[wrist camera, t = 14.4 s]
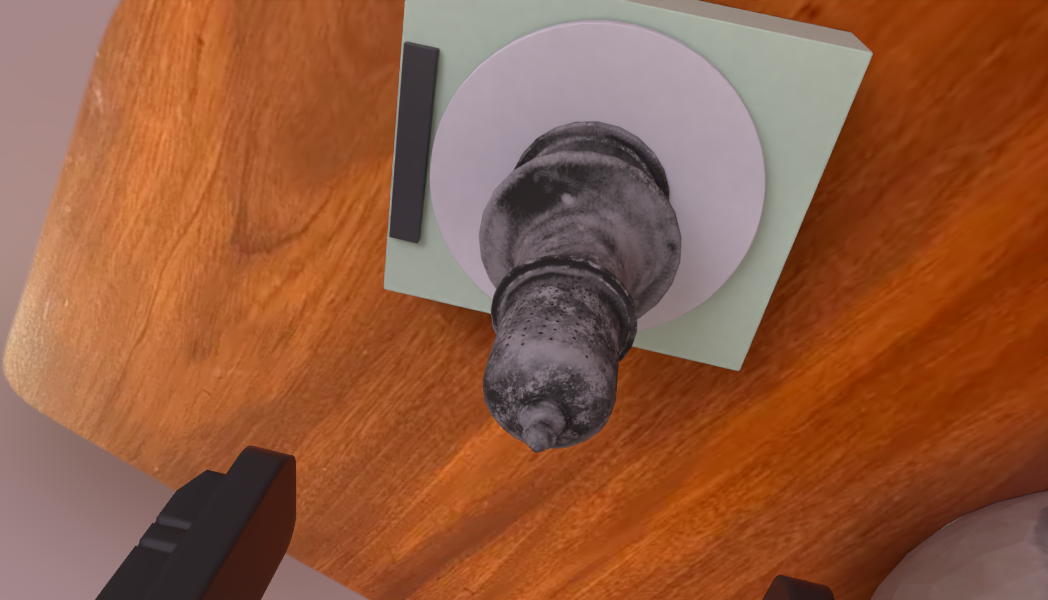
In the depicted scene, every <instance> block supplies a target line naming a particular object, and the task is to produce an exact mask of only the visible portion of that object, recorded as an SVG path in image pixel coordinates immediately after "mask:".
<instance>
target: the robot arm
mask: <svg viewBox="0 0 1048 600" xmlns="http://www.w3.org/2000/svg"><path fill="white" fill-rule="evenodd" d="M295 521H296V460H295V457H294V456H293V455H288V454H284V453H280V452H276V451H272V450H268V449H263V448H259V447H255V446H247V447H246V448H245V449H244V450H243V451H242V452H241V453H240V455H239V456H238V458H237V459H236V461H235V462H234V463H233V465H232V466H231V468H230V469H229V471H228V472H227V474H222V473H218V472H214V471H210V470H206V471H205V472H203V473H202V474H200V475H199V476H197V477H196V478H194V479H193V480H191V481H190V482H189V483H187V484H186V485H184V486H183V487H181V488H180V489H178V490H177V491H176V492H175V494H174V495H173V496H172V498H171V499H170V500H169V502H168V503H167V504H166V506H165V507H164V508H163V510H162V511H161V512H160V514H159V515H158V516H157V519H156V522H155V523H154V524H153V523H152V525H151V526H150V527H149V529H148V530H147V531H146V532H145V534H144V535H143V537H142V538H141V539H140V542H139V545H138V546H135V547H134V548H133V550H132V551H131V552H130V554H129V555H128V556H127V558H126V559H125V561H124V562H123V563H122V564H121V566H120V567H119V568H118V570H117V571H116V573H115V574H114V575H113V576H112V578H111V579H110V580H109V582H108V583H107V584H106V586H105V587H104V588H103V590H102V591H101V593H100V594H99V595H98V596H97V598H96V599H95V600H261V598H262V597H263V595H264V593H265V591H266V589H267V587H268V585H269V583H270V581H271V579H272V577H273V576H274V574H275V572H276V570H277V568H278V566H279V564H280V562H281V560H282V559H283V557H284V555H285V553H286V551H287V548H288V546H289V543H290V541H291V538H292V534H293V531H294V526H295ZM763 600H834V596H833V594H832V591H831V590H830V588H829V587H827V586H825V585H821V584H817V583H813V582H809V581H805V580H800V579H796V578H792V577H788V576H784V575H778V576H777V577H776V578H775V579H774V580H773V582H772V584H771V585H770V587H769V589H768V591H767V593H766V594H765V596H764V598H763Z"/></svg>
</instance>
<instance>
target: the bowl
mask: <svg viewBox="0 0 1048 600" xmlns="http://www.w3.org/2000/svg"><path fill="white" fill-rule="evenodd" d="M870 600H1048V491H1043V492H1037V493H1033V494H1028V495H1024V496H1020V497H1016V498H1012V499H1008V500H1004V501H1000V502H996V503H993V504H991V505H988V506H986V507H983V508H981V509H978V510H976V511H973V512H971V513H968V514H966V515H964V516H962V517H960V518H958V519H957V520H955V521H953V522H951V523H949V524H948V525H946V526H945V527H943V528H942V529H940V530H939V531H937V532H936V533H934V534H933V535H931V536H930V537H929V538H927V539H926V540H925V541H923V542H922V543H921V544H919V545H918V546H917V547H915V548H914V549H913V550H911V551H910V552H909V553H908V554H907V555H906V556H905V557H904V558H903V559H902V560H901V561H900V562H899V564H898V565H897V566H896V567H895V568H894V569H893V570H892V571H891V572H890V574H889V575H888V576H887V577H886V578H885V579H884V580H883V581H882V583H881V584H880V585H879V586H878V587H877V589H876V590H875V592H874V594H873V596H872V597H871V599H870Z"/></svg>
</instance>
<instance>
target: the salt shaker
mask: <svg viewBox="0 0 1048 600" xmlns="http://www.w3.org/2000/svg"><path fill="white" fill-rule="evenodd" d="M669 192H670V190H669V186H668V182H667V178H666V174H665V170H664V168H663V167H662V165H661V163H660V161H659V160H658V158H657V156H656V155H655V153H654V152H653V151H652V150H651V149H650V148H649V147H648V146H647V145H646V144H645V143H644V142H643V141H642V140H641V139H640V138H639V137H637V136H635V135H634V134H632V133H630V132H628V131H626V130H624V129H623V128H621V127H618V126H614V125H610V124H606V123H602V122H598V121H590V122H573V123H569V124H566V125H562V126H558V127H555V128H553V129H551V130H550V131H548V132H546V133H545V134H543V135H541V136H540V137H538V138H536V139H535V141H534V142H533V143H532V144H531V145H530V146H529V147H528V148H527V149H526V150H525V151H524V152H523V153H522V155H521V157H520V159H519V161H518V163H517V165H516V167H515V168H514V170H513V171H512V172H511V173H510V174H509V175H508V176H507V177H506V178H505V179H504V180H503V181H502V182H501V183H500V184H499V185H498V187H497V188H496V189H495V190H494V192H493V194H492V196H491V197H490V199H489V201H488V203H487V205H486V207H485V209H484V211H483V214H482V220H481V225H480V231H479V244H480V253H481V260H482V262H483V265H484V267H485V270H486V272H487V275H488V277H489V280H490V281H491V283H492V284H493V285H494V287H495V288H496V291H495V293H494V296H493V301H492V306H491V318H492V326H493V328H494V331H495V333H496V339H495V341H494V344H493V347H492V350H491V353H490V356H489V359H488V362H487V365H486V369H485V374H484V378H483V390H484V398H485V403H486V405H487V407H488V409H489V411H490V413H491V415H492V416H493V417H494V418H495V420H496V421H497V422H498V423H499V424H500V426H501V427H502V428H503V429H504V430H505V431H507V432H508V433H509V434H511V435H512V436H513V437H515V438H516V439H518V440H521V441H523V442H525V443H526V444H527V445H528V446H529V448H531V449H532V450H533V451H534V452H540V451H544V450H546V449H549V448H555V449H557V448H564V447H570V446H573V445H576V444H579V443H581V442H584V441H586V440H588V439H590V438H591V437H592V436H594V435H595V434H597V433H598V432H600V430H601V429H602V428H603V427H604V425H605V424H606V423H607V421H608V419H609V417H610V415H611V413H612V410H613V407H614V404H615V401H616V389H617V377H618V365H619V362H620V361H621V360H622V359H623V358H624V357H625V355H626V354H627V353H628V351H629V350H630V349H631V347H632V345H633V342H634V339H635V336H636V334H637V319H639V318H640V317H642V316H643V315H644V314H646V313H647V312H648V311H649V310H651V309H652V308H653V307H654V306H656V305H657V304H658V303H659V302H660V300H661V299H662V298H663V296H664V295H665V294H666V292H667V291H668V289H669V288H670V287H671V285H672V284H673V281H674V278H675V275H676V273H677V270H678V267H679V264H680V259H681V239H682V237H681V233H680V229H679V225H678V221H677V217H676V213H675V211H674V209H673V207H672V206H671V204H670V202H669Z"/></svg>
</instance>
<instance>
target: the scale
mask: <svg viewBox="0 0 1048 600" xmlns="http://www.w3.org/2000/svg"><path fill="white" fill-rule="evenodd" d="M872 55H873V53H872V52H871V51H870V50H869V49H868V48H867V47H866V46H865V45H864V44H863V43H862V42H861V41H860V40H859V39H858V38H857V37H856V36H855V35H854V34H853V33H851V32H846V31H841V30H836V29H832V28H827V27H822V26H817V25H813V24H808V23H803V22H798V21H794V20H789V19H784V18H779V17H774V16H770V15H765V14H760V13H755V12H751V11H746V10H741V9H736V8H732V7H727V6H722V5H717V4H713V3H708V2H703V1H698V0H405V8H404V22H403V35H402V49H401V62H400V75H399V89H398V102H397V116H396V129H395V142H394V156H393V169H392V183H391V196H390V210H389V223H388V236H387V250H386V263H385V277H384V289H386V290H391V291H395V292H399V293H404V294H408V295H412V296H417V297H421V298H425V299H429V300H434V301H438V302H442V303H447V304H451V305H455V306H460V307H464V308H468V309H473V310H477V311H481V312H486V313H490V314H491V306H492V301H493V296H494V293H495V291H496V288H495V287H494V285H493V284H492V283H491V281H490V280H489V277H488V275H487V272H486V270H485V267H484V265H483V262H482V260H481V253H480V244H479V231H480V225H481V220H482V214H483V211H484V209H485V207H486V205H487V203H488V201H489V199H490V197H491V196H492V194H493V192H494V190H495V189H496V188H497V187H498V185H499V184H500V183H501V182H502V181H503V180H504V179H505V178H506V177H507V176H508V175H509V174H510V173H511V172H512V171H513V170H514V168H515V167H516V165H517V163H518V161H519V159H520V157H521V155H522V153H523V152H524V151H525V150H526V149H527V148H528V147H529V146H530V145H531V144H532V143H533V142H534V141H535V139H536V138H538V137H540V136H541V135H543V134H545V133H546V132H548V131H550V130H551V129H553V128H555V127H558V126H562V125H566V124H569V123H573V122H590V121H598V122H602V123H606V124H610V125H614V126H618V127H621V128H623V129H624V130H626V131H628V132H630V133H632V134H634V135H635V136H637V137H639V138H640V139H641V140H642V141H643V142H644V143H645V144H646V145H647V146H648V147H649V148H650V149H651V150H652V151H653V152H654V153H655V155H656V156H657V158H658V160H659V161H660V163H661V165H662V167H663V168H664V170H665V174H666V178H667V182H668V186H669V190H670V192H669V202H670V204H671V206H672V207H673V209H674V211H675V213H676V217H677V221H678V225H679V229H680V233H681V237H682V239H681V259H680V264H679V267H678V270H677V273H676V275H675V278H674V281H673V284H672V285H671V287H670V288H669V289H668V291H667V292H666V294H665V295H664V296H663V298H662V299H661V300H660V302H659V303H658V304H657V305H656V306H654V307H653V308H652V309H651V310H649V311H648V312H647V313H646V314H644V315H643V316H642V317H640V318H639V319H637V334H636V336H635V339H634V342H633V345H632V347H637V348H641V349H645V350H650V351H654V352H658V353H662V354H667V355H671V356H675V357H680V358H684V359H688V360H693V361H697V362H701V363H706V364H710V365H714V366H719V367H723V368H727V369H731V370H736V371H740V369H741V366H742V364H743V361H744V359H745V357H746V354H747V352H748V350H749V347H750V345H751V342H752V340H753V338H754V335H755V333H756V331H757V328H758V326H759V323H760V321H761V319H762V316H763V314H764V312H765V309H766V307H767V304H768V302H769V300H770V297H771V295H772V293H773V290H774V288H775V285H776V283H777V281H778V278H779V276H780V274H781V271H782V269H783V266H784V264H785V262H786V259H787V257H788V255H789V252H790V250H791V247H792V245H793V243H794V240H795V238H796V236H797V233H798V231H799V228H800V226H801V224H802V221H803V219H804V217H805V214H806V212H807V209H808V207H809V205H810V202H811V200H812V198H813V195H814V193H815V190H816V188H817V186H818V183H819V181H820V179H821V176H822V174H823V171H824V169H825V167H826V164H827V162H828V160H829V157H830V155H831V152H832V150H833V148H834V145H835V143H836V141H837V138H838V136H839V134H840V131H841V129H842V126H843V124H844V122H845V119H846V117H847V115H848V112H849V110H850V107H851V105H852V103H853V100H854V98H855V96H856V93H857V91H858V88H859V86H860V84H861V81H862V79H863V77H864V74H865V72H866V69H867V67H868V65H869V62H870V60H871V58H872Z"/></svg>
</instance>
